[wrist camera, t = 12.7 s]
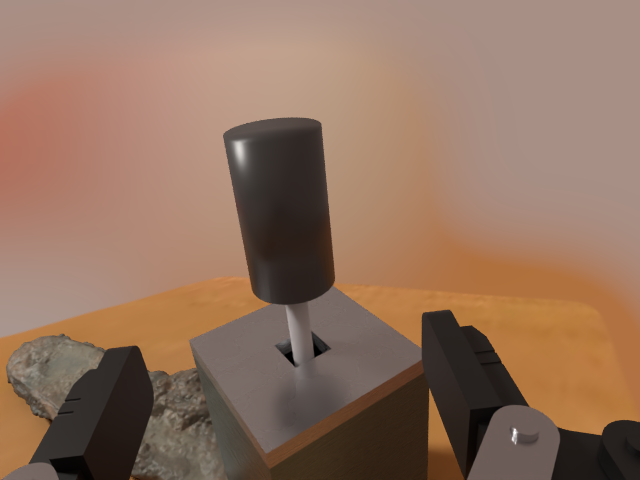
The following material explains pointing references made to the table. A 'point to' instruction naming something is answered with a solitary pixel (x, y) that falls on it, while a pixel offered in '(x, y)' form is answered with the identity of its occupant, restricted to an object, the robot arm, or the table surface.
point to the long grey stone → (165, 420)
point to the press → (316, 396)
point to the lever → (284, 216)
